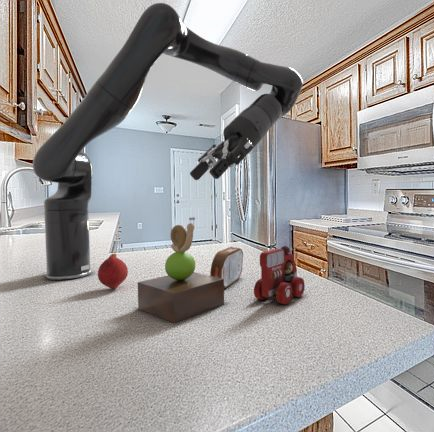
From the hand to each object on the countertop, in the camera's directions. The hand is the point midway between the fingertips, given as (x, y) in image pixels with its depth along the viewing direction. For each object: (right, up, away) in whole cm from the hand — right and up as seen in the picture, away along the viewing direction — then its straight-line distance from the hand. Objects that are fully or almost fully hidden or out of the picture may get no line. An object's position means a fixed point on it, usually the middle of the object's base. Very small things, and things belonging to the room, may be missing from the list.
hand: (202, 176), depth 64 cm
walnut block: (-2, -25, -6) cm, 26 cm away
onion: (-22, -25, +5) cm, 33 cm away
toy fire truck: (+16, -25, 0) cm, 30 cm away
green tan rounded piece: (-2, -21, -6) cm, 21 cm away
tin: (+4, -25, +10) cm, 27 cm away
